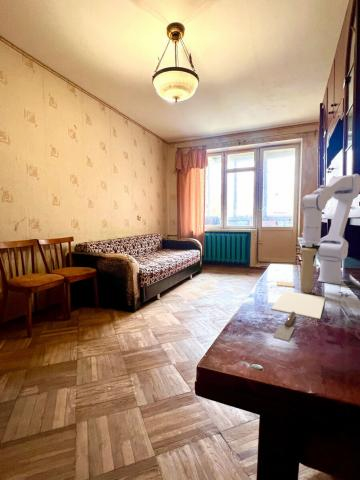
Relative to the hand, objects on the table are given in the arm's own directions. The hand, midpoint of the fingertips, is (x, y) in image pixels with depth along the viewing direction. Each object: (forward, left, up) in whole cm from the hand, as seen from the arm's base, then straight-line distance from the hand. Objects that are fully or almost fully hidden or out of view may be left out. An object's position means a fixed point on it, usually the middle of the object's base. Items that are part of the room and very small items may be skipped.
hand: (309, 264), depth 91 cm
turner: (+40, 0, -8) cm, 41 cm away
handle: (+7, 0, -9) cm, 11 cm away
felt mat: (+21, 0, -8) cm, 23 cm away
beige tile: (+1, -8, -9) cm, 12 cm away
